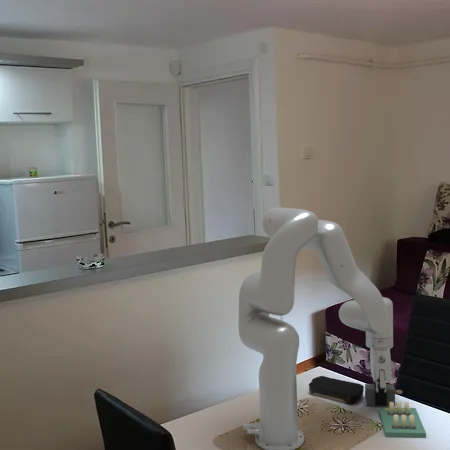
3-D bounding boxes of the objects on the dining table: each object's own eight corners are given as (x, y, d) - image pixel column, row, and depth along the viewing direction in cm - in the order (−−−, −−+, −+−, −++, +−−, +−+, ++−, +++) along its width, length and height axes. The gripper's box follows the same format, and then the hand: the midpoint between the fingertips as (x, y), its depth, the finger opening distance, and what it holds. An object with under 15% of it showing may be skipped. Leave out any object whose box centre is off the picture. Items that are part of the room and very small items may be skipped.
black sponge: (366, 397, 179) (366, 385, 179) (354, 407, 172) (353, 394, 172) (318, 385, 189) (318, 374, 189) (305, 394, 183) (304, 383, 182)
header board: (385, 436, 153) (385, 420, 153) (378, 411, 168) (378, 396, 168) (426, 437, 152) (426, 421, 152) (415, 412, 167) (415, 397, 166)
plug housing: (366, 406, 172) (366, 389, 171) (365, 400, 176) (365, 383, 175) (403, 406, 171) (403, 389, 170) (401, 400, 175) (401, 384, 174)
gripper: (397, 350, 163) (397, 414, 165) (388, 331, 179) (389, 390, 181) (369, 350, 164) (369, 414, 166) (363, 331, 180) (364, 390, 182)
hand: (380, 401), depth 173 cm, fingers closed on plug housing, 4 cm apart
